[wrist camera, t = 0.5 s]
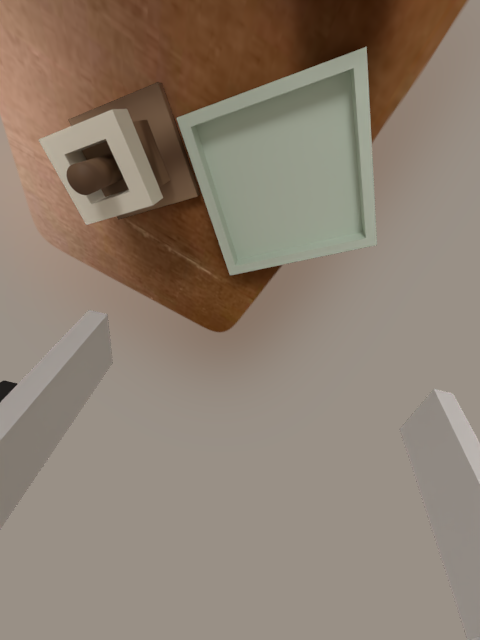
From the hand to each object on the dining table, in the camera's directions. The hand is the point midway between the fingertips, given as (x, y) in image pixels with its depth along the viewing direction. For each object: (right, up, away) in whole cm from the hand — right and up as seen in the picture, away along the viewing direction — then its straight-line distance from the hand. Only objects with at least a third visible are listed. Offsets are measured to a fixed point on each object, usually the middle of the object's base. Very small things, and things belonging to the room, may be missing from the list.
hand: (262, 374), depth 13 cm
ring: (-12, +16, +15) cm, 25 cm away
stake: (-11, +19, +19) cm, 30 cm away
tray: (+4, +16, +19) cm, 25 cm away
